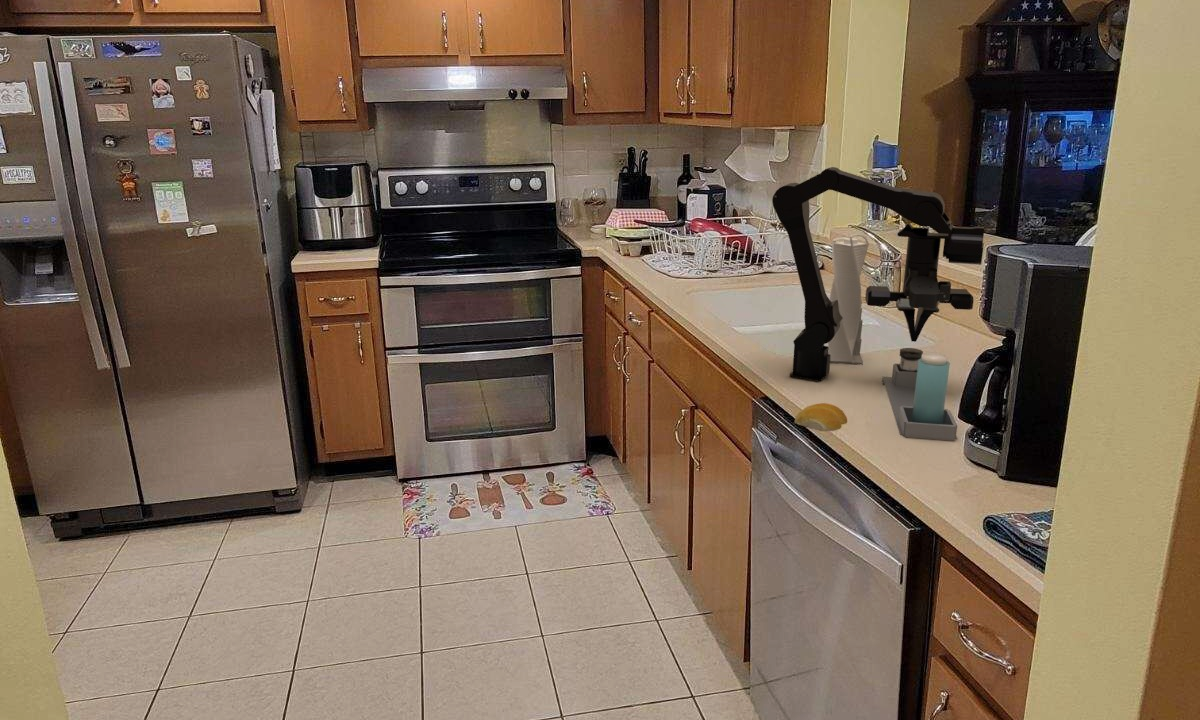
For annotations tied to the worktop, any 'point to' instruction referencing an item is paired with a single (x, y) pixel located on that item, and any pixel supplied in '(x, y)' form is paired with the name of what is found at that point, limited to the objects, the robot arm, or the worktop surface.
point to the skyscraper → (847, 299)
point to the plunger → (910, 359)
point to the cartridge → (930, 388)
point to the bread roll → (821, 417)
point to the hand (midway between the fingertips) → (913, 341)
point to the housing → (902, 406)
